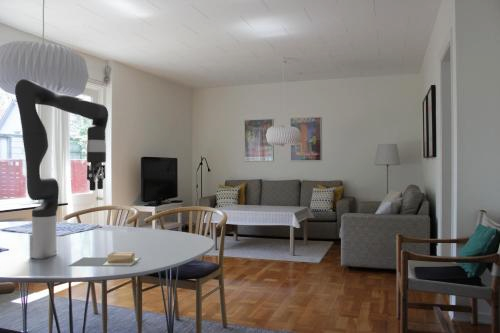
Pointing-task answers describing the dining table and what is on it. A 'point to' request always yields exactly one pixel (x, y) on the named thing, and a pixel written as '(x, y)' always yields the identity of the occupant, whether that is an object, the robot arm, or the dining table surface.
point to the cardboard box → (121, 257)
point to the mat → (101, 262)
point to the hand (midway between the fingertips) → (96, 189)
